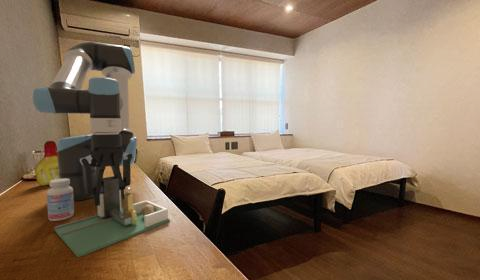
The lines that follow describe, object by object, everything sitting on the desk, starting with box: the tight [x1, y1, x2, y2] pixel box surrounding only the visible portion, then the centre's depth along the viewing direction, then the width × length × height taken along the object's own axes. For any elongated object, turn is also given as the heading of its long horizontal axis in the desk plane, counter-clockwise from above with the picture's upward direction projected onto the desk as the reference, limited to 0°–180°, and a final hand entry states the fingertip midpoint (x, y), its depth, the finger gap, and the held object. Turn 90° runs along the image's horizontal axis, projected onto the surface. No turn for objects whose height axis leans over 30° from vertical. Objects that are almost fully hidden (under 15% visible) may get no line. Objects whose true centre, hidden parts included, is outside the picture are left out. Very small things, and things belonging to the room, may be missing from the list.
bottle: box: [34, 140, 59, 186], centre depth 102 cm, size 12×6×20 cm, turn 138°
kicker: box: [100, 175, 137, 225], centre depth 62 cm, size 14×4×11 cm, turn 51°
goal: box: [133, 199, 169, 227], centre depth 65 cm, size 12×7×4 cm, turn 51°
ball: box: [141, 204, 155, 216], centre depth 65 cm, size 4×4×4 cm
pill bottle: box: [46, 178, 75, 222], centre depth 66 cm, size 6×6×11 cm
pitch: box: [54, 208, 171, 258], centre depth 60 cm, size 18×22×1 cm
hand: (109, 212), depth 65 cm, fingers closed on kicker, 4 cm apart
